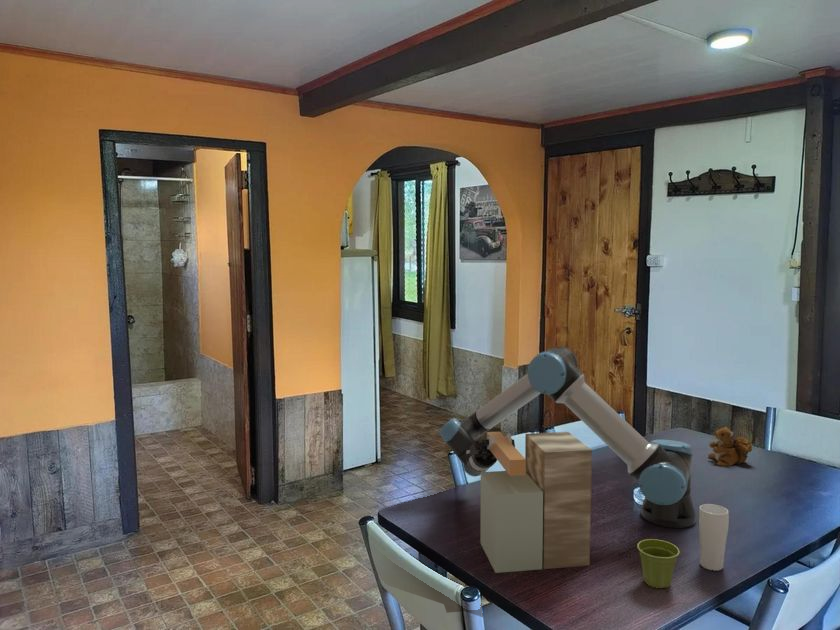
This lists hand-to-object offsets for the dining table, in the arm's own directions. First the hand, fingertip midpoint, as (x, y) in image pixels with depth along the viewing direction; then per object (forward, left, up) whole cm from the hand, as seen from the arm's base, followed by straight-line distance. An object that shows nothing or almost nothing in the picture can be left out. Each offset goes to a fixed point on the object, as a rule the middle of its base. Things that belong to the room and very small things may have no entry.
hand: (501, 438), depth 169 cm
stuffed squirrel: (-46, -102, -29) cm, 116 cm away
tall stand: (-15, -2, -29) cm, 33 cm away
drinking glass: (-51, -15, -29) cm, 61 cm away
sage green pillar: (-6, +6, -29) cm, 30 cm away
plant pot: (-41, 0, -29) cm, 50 cm away
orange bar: (-2, +3, -5) cm, 6 cm away
